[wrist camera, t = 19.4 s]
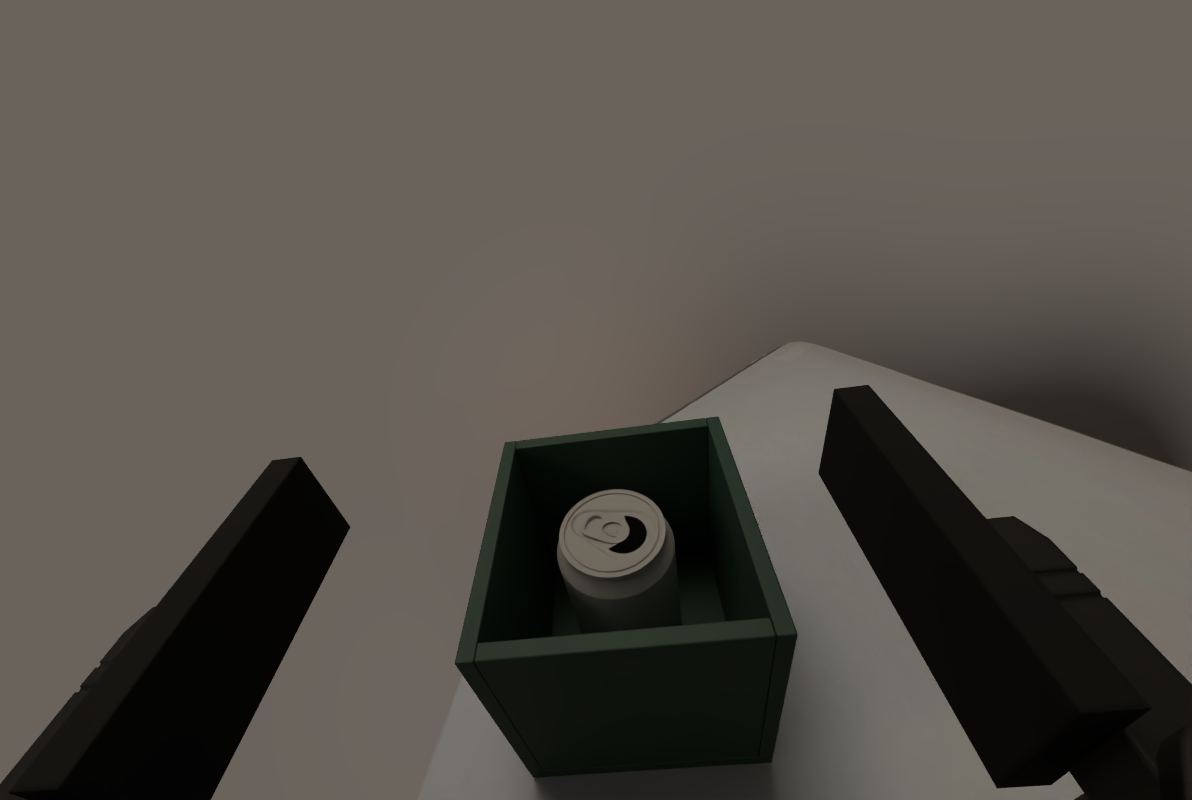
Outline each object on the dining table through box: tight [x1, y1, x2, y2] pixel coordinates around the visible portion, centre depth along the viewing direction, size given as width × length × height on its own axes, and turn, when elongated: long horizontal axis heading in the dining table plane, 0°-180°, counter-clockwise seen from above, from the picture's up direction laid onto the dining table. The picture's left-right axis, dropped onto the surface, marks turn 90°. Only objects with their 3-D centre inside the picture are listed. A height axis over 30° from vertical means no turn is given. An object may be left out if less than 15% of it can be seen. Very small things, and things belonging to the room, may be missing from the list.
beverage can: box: [557, 489, 682, 634], centre depth 28 cm, size 6×6×12 cm
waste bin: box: [455, 417, 797, 777], centre depth 28 cm, size 14×14×14 cm
